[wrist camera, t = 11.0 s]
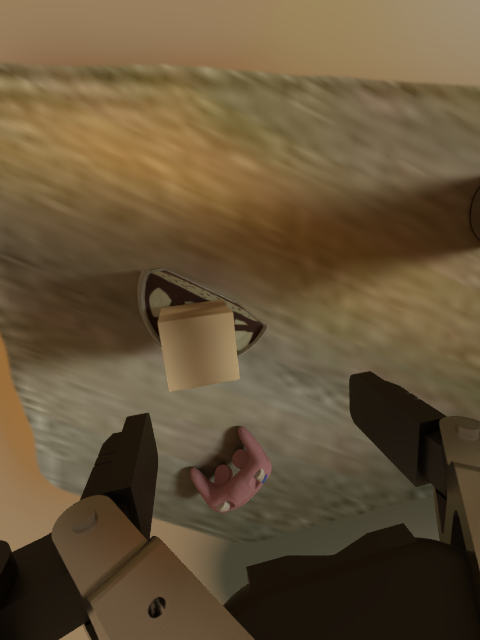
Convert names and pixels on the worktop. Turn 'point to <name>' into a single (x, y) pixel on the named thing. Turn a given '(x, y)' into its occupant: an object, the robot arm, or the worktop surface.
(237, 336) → the food container
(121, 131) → the worktop surface
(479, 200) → the robot arm
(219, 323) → the birch cube
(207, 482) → the pink toy figure
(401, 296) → the worktop surface
